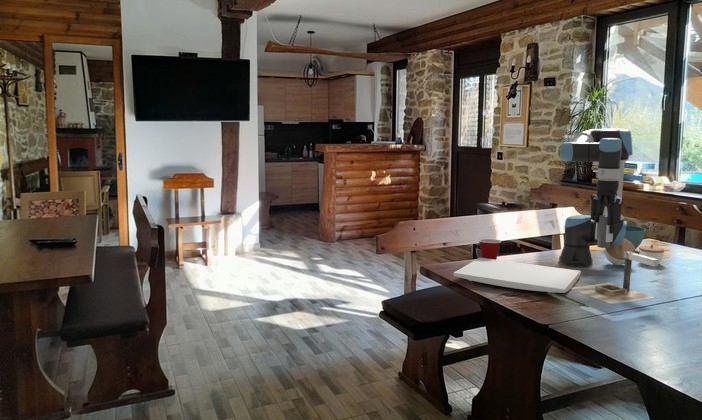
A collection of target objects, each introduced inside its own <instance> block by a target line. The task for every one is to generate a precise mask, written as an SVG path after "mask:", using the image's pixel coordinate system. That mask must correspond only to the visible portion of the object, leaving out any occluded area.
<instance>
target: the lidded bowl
mask: <svg viewBox="0 0 702 420" xmlns="http://www.w3.org/2000/svg"><path fill="white" fill-rule="evenodd" d="M626 251H628V252H634V253H636V249H635V247H634V245H633V244H632V243H631V242H630V241H629V240H627V239H625V238H624V240H623V243H622V244H621V245H612V246H611V245H610V248H604V256H605V258H606V259H607V261H608V262H610V264H612V265H616V266H623V265H625V259H624V258H623V257H624V252H626Z"/></svg>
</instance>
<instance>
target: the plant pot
mask: <svg viewBox="0 0 702 420" xmlns="http://www.w3.org/2000/svg"><path fill="white" fill-rule="evenodd" d="M646 230H647V229H646V228H645V227H641V226H636V225H628V224H627V227H626V232H625V236H624V238H625V239H627V240H629V241H630V242H631V243H632V244H633V245H634V247H635V250H637V249H638V248H639V247H640V246H641V244H642V243H643V241H644V238H645V235H646V232H647V231H646Z"/></svg>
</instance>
